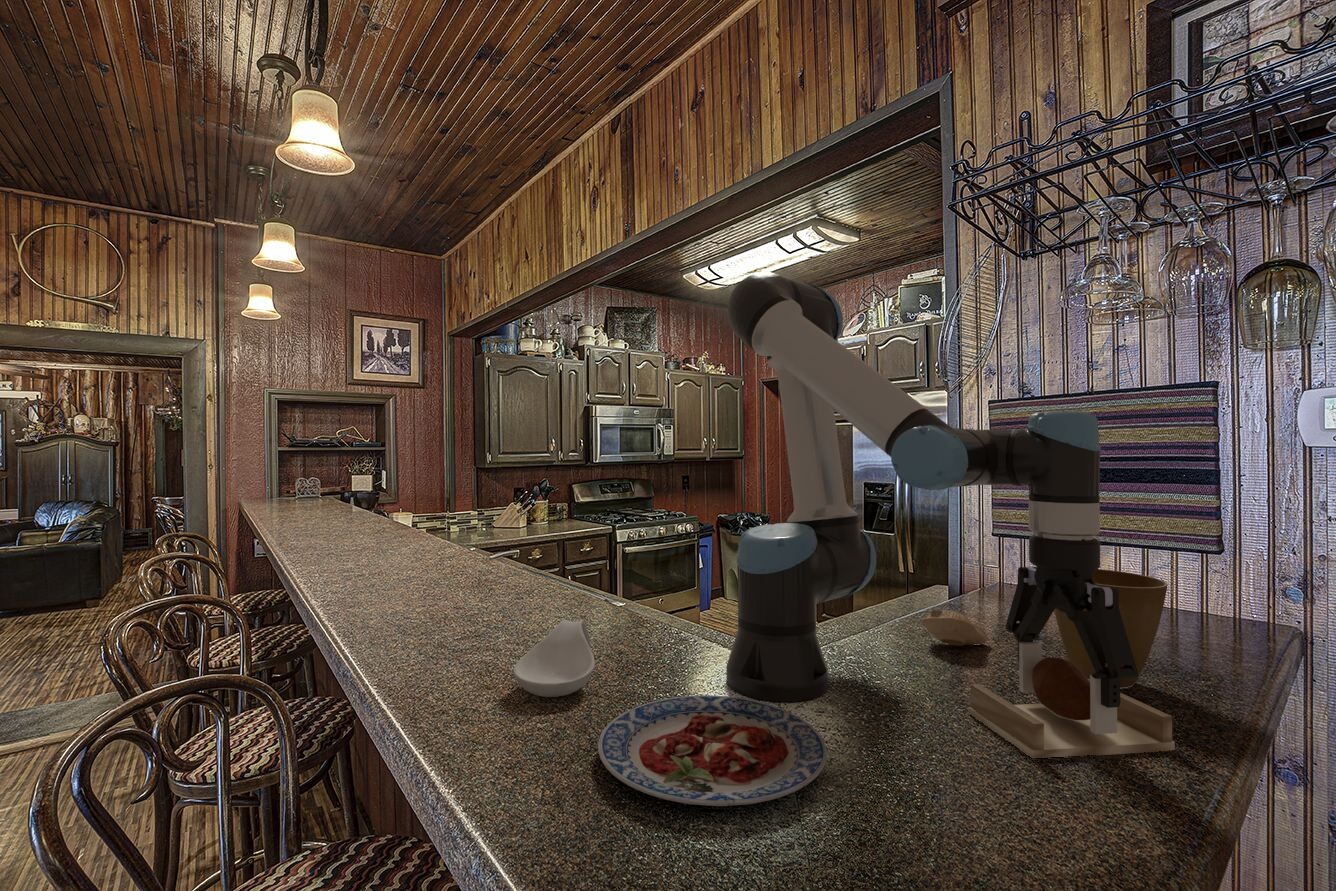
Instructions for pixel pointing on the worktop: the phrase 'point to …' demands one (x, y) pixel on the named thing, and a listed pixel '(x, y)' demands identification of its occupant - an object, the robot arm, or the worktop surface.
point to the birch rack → (1072, 728)
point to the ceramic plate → (712, 750)
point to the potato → (1062, 688)
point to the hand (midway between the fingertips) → (1064, 710)
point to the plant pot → (1138, 613)
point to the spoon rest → (557, 662)
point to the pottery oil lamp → (953, 628)
